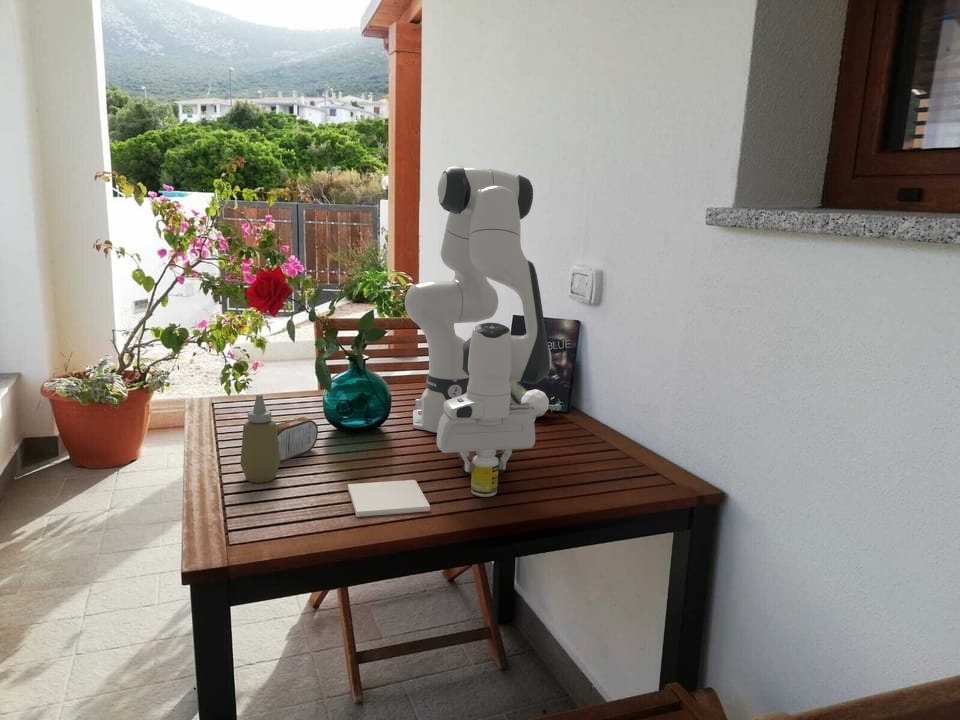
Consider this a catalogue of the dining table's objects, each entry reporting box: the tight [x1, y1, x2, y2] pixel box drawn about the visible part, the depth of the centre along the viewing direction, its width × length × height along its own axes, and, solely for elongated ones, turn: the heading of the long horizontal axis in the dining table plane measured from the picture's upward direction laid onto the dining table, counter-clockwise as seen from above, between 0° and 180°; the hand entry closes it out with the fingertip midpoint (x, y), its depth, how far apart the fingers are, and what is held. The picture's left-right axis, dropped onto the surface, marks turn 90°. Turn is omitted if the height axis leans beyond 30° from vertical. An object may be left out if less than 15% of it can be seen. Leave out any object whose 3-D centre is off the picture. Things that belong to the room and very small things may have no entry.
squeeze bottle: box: [239, 394, 281, 484], centre depth 148 cm, size 8×8×18 cm
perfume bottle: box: [520, 388, 562, 418], centre depth 206 cm, size 8×8×12 cm
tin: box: [276, 416, 319, 463], centre depth 163 cm, size 15×3×8 cm, turn 150°
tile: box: [347, 479, 431, 518], centre depth 142 cm, size 14×14×1 cm
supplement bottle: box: [470, 450, 499, 498], centre depth 147 cm, size 5×5×10 cm
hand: (485, 469), depth 147 cm, fingers closed on supplement bottle, 5 cm apart
